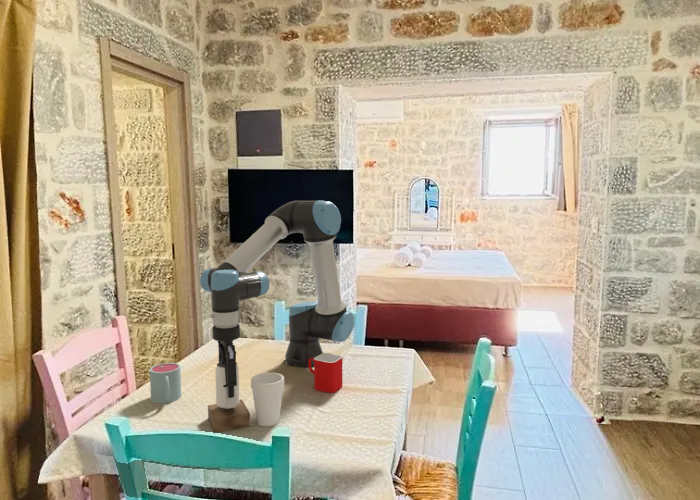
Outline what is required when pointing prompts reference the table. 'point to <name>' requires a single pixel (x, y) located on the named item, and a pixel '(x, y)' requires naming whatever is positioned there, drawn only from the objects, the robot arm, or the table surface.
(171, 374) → the mug
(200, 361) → the table surface
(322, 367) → the mug
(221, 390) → the can
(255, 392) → the foam cup
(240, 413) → the walnut block
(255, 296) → the robot arm
